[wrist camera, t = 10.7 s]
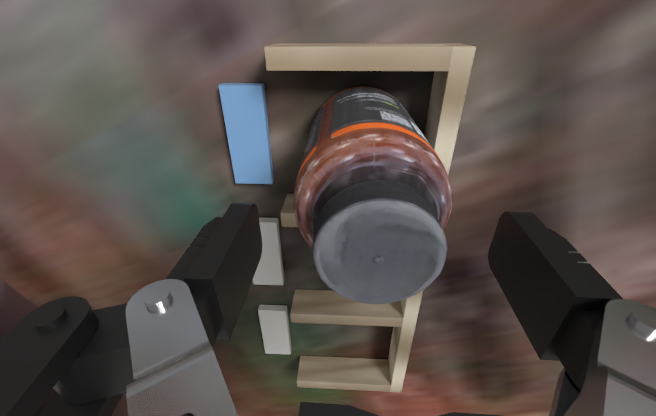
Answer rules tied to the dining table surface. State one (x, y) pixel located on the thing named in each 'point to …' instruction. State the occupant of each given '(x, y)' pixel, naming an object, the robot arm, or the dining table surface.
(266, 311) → the bezel tiles
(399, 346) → the divider rack
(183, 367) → the robot arm
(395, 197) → the supplement bottle
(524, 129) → the dining table surface
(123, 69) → the dining table surface
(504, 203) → the dining table surface
